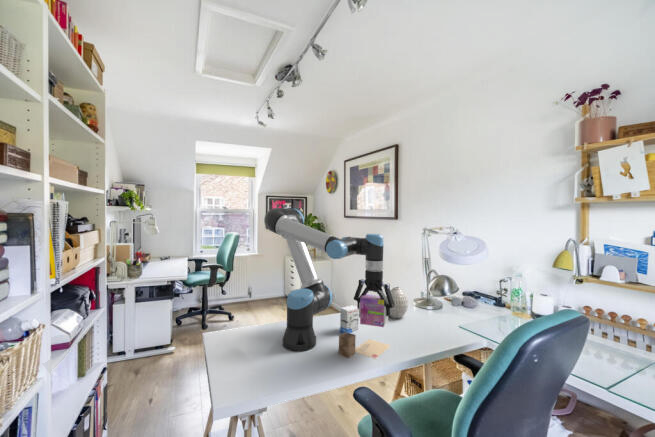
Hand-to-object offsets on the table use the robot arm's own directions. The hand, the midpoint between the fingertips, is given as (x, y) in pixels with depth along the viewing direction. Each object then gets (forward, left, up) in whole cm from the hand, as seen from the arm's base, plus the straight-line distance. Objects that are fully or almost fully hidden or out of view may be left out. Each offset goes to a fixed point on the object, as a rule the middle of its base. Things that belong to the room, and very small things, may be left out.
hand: (373, 319), depth 131 cm
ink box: (-18, +10, -13) cm, 25 cm away
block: (-6, -11, -13) cm, 18 cm away
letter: (0, 0, -13) cm, 13 cm away
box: (0, 0, -2) cm, 2 cm away
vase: (-8, +44, -13) cm, 47 cm away
